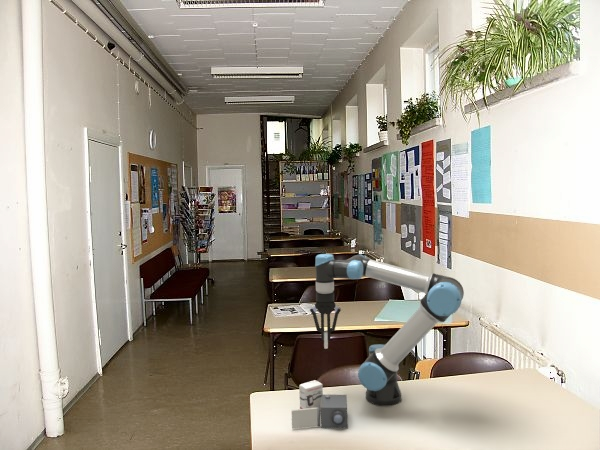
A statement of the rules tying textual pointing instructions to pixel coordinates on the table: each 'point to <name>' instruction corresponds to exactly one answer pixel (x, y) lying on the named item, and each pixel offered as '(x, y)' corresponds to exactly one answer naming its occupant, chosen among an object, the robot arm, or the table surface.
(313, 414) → the door
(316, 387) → the ink box
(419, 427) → the table surface
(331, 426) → the housing
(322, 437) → the table surface
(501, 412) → the table surface
